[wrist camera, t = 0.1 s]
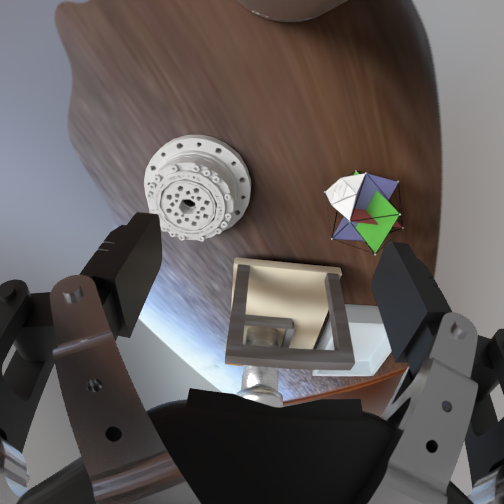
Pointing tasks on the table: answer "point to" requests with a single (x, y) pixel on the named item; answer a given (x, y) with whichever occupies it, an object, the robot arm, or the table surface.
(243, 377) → the pin
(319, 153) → the table surface
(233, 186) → the mechanical component
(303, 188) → the table surface
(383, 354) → the tray
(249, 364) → the dolly
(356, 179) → the geometric puzzle
